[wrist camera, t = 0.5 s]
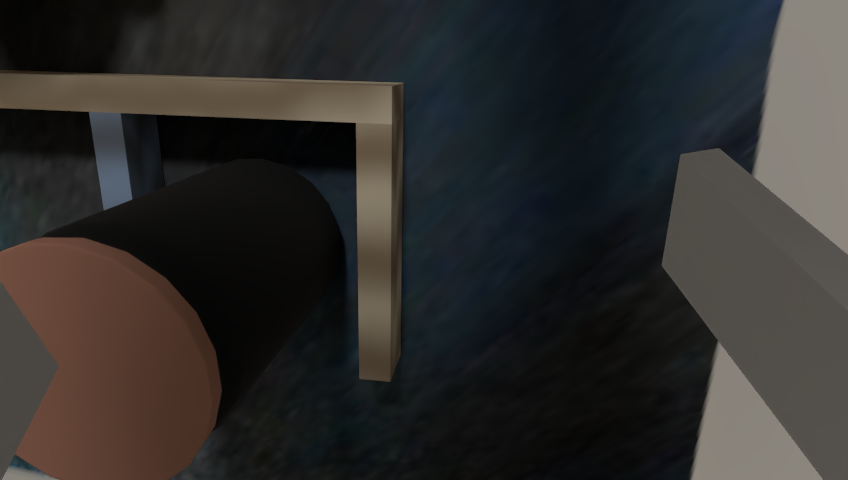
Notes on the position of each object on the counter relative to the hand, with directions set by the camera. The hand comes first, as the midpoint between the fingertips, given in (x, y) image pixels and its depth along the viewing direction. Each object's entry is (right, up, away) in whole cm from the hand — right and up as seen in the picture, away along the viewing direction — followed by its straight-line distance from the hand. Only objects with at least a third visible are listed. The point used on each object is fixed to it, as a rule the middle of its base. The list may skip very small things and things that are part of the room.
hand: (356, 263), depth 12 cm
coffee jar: (-9, +1, +27) cm, 29 cm away
